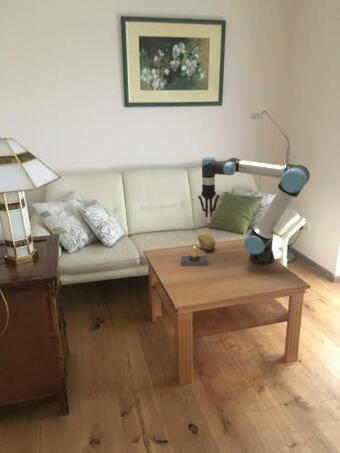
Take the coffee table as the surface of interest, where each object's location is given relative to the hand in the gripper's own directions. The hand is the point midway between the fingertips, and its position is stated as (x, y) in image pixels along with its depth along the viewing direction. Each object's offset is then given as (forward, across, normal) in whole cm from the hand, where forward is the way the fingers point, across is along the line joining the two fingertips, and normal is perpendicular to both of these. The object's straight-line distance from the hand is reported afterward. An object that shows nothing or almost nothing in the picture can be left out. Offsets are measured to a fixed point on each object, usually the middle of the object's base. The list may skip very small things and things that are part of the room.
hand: (208, 222), depth 221 cm
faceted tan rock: (+25, -1, -16) cm, 29 cm away
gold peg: (+24, +10, +5) cm, 27 cm away
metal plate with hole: (+24, +10, +5) cm, 27 cm away
